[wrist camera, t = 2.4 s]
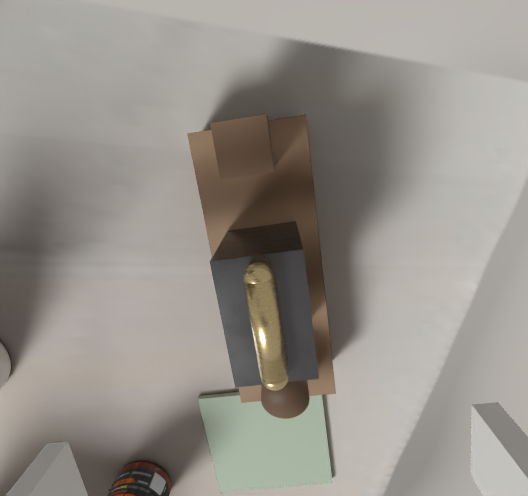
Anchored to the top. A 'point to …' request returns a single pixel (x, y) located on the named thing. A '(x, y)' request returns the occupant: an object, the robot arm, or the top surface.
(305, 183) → the plane body
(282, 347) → the lever cap
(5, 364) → the milk bottle
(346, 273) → the top surface
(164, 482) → the supplement bottle
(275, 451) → the mat
